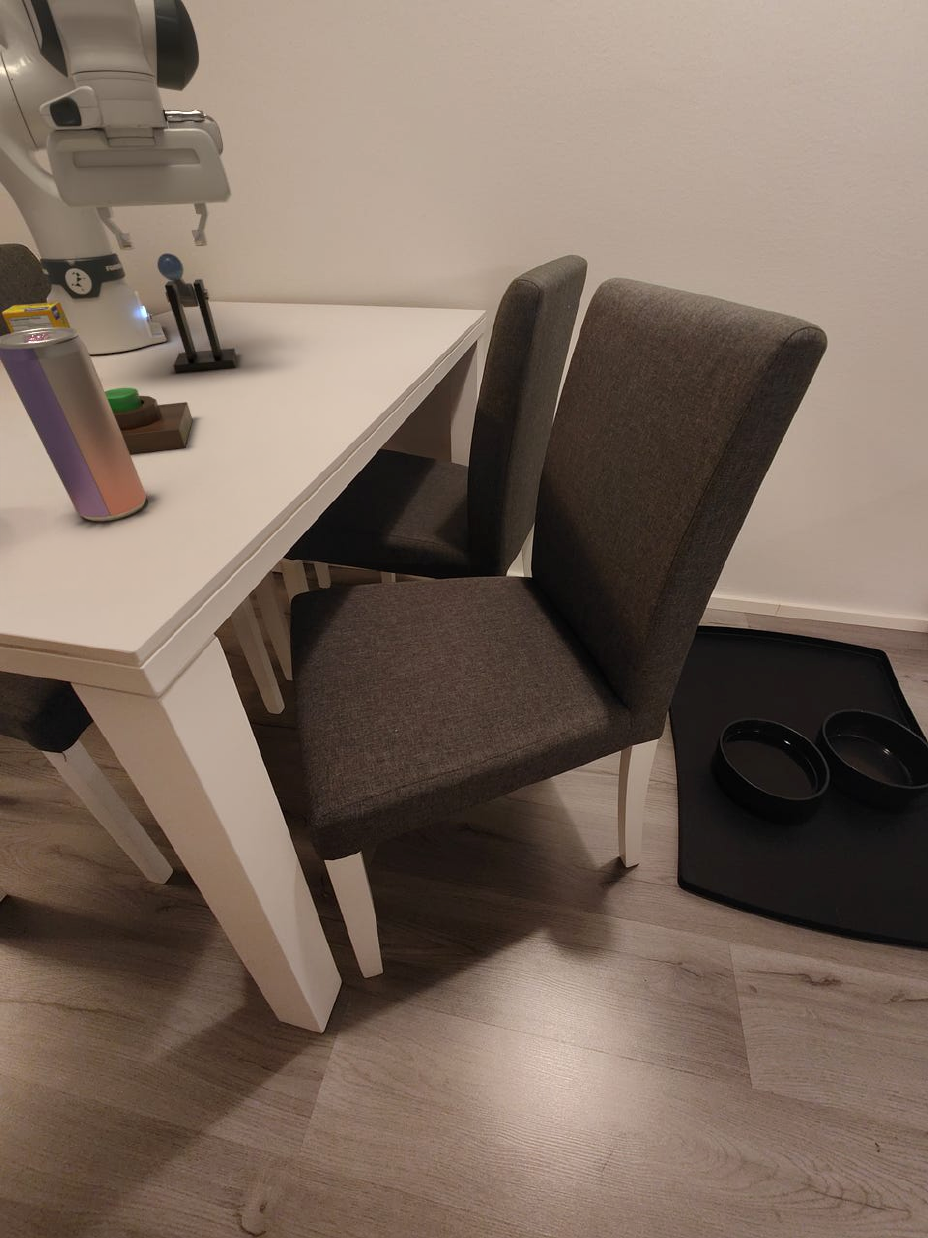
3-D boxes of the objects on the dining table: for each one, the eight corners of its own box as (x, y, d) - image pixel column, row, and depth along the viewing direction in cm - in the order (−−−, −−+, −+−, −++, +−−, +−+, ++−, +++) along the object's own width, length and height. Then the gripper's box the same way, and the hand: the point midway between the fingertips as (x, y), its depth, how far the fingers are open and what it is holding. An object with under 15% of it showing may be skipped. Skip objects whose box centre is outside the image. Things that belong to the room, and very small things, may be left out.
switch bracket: (234, 367, 92) (213, 283, 84) (175, 373, 90) (148, 288, 82) (236, 355, 98) (216, 276, 90) (181, 360, 96) (155, 280, 88)
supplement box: (93, 380, 87) (60, 300, 81) (86, 391, 83) (50, 308, 76) (50, 385, 86) (13, 304, 79) (40, 396, 82) (0, 311, 75)
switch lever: (182, 274, 77) (177, 248, 76) (157, 275, 76) (151, 249, 76) (202, 309, 90) (198, 287, 89) (181, 310, 89) (176, 288, 88)
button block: (90, 430, 70) (76, 397, 68) (192, 419, 73) (182, 386, 70) (70, 461, 63) (53, 425, 60) (185, 447, 65) (173, 412, 63)
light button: (108, 404, 66) (102, 389, 65) (145, 401, 67) (139, 385, 66) (101, 415, 63) (95, 399, 62) (140, 411, 64) (134, 395, 63)
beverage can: (76, 529, 50) (-17, 347, 41) (82, 501, 55) (-1, 331, 45) (148, 515, 52) (75, 338, 43) (149, 489, 57) (82, 323, 47)
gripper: (216, 112, 72) (245, 241, 81) (39, 113, 68) (89, 249, 77) (213, 106, 68) (244, 244, 76) (22, 108, 63) (77, 254, 72)
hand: (165, 247), depth 76 cm, fingers open, 8 cm apart
